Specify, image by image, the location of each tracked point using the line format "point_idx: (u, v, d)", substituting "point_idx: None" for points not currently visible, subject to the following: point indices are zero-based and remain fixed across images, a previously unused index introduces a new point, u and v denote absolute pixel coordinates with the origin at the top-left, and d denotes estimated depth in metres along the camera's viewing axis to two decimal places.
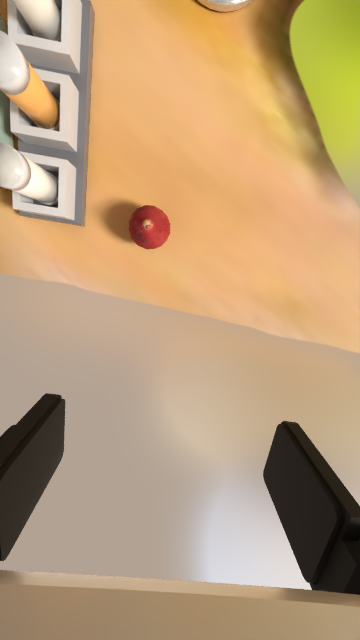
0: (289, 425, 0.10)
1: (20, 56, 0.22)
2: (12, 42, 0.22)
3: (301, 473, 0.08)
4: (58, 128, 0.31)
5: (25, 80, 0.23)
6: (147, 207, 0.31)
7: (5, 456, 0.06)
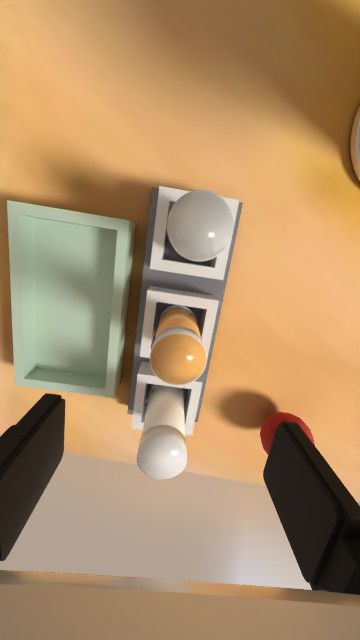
0: (289, 425, 0.10)
1: None
2: (200, 345, 0.16)
3: (301, 473, 0.08)
4: None
5: None
6: None
7: (5, 456, 0.06)
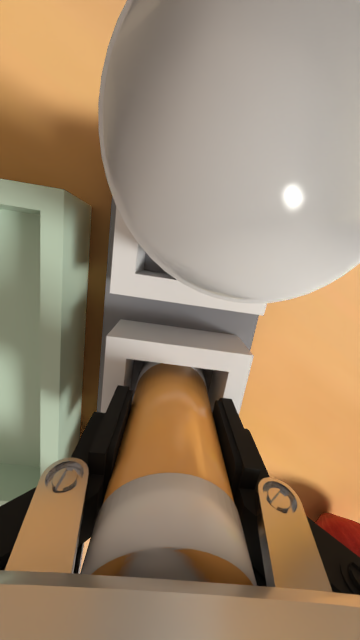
0: (223, 400, 0.11)
1: None
2: (241, 575, 0.05)
3: (222, 439, 0.09)
4: None
5: None
6: None
7: (111, 434, 0.08)
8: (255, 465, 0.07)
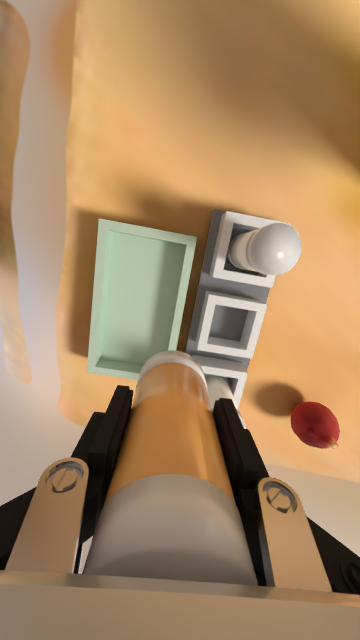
0: (223, 400, 0.11)
1: None
2: (242, 577, 0.05)
3: (222, 439, 0.09)
4: None
5: None
6: (324, 417, 0.31)
7: (111, 434, 0.08)
8: (256, 465, 0.07)
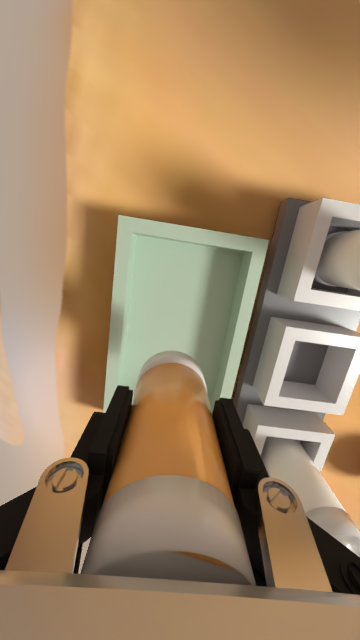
0: (223, 400, 0.11)
1: None
2: (240, 578, 0.05)
3: (222, 439, 0.09)
4: None
5: None
6: None
7: (111, 434, 0.08)
8: (256, 465, 0.07)
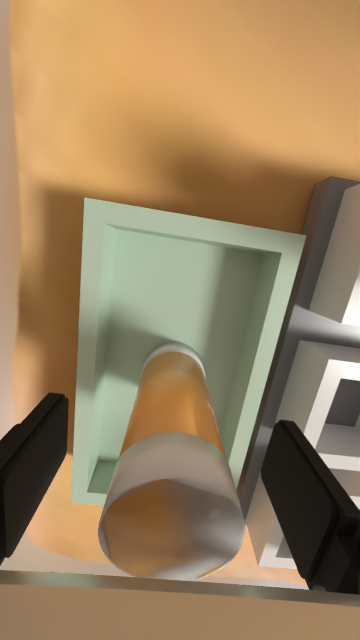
0: (286, 423, 0.10)
1: None
2: (229, 503, 0.06)
3: (297, 471, 0.08)
4: None
5: None
6: None
7: (11, 454, 0.06)
8: (356, 509, 0.06)
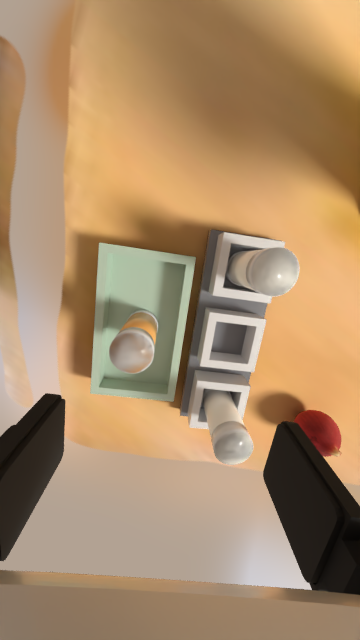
0: (289, 425, 0.10)
1: (153, 350, 0.22)
2: (147, 341, 0.21)
3: (301, 473, 0.08)
4: None
5: None
6: (325, 425, 0.31)
7: (5, 456, 0.06)
8: None
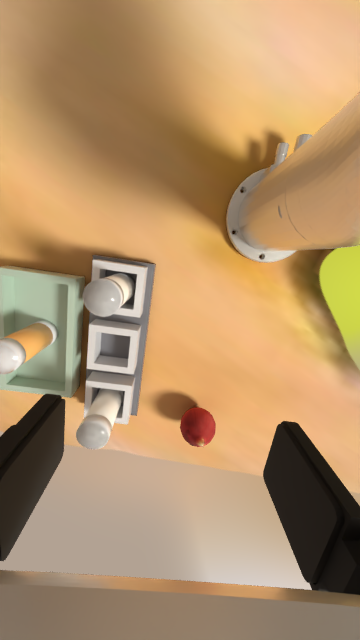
0: (289, 425, 0.10)
1: (18, 356, 0.27)
2: (11, 349, 0.27)
3: (301, 473, 0.08)
4: None
5: (22, 363, 0.29)
6: (198, 421, 0.37)
7: (5, 456, 0.06)
8: None
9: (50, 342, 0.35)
